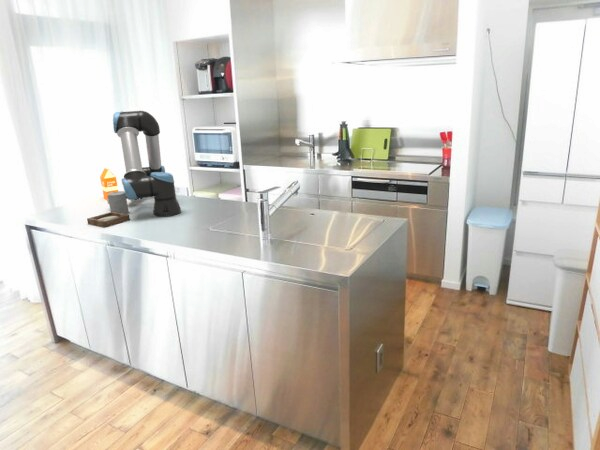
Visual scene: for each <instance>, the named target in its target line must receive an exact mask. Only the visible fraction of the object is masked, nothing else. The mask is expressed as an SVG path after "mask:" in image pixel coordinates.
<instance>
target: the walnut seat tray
mask: <svg viewBox="0 0 600 450" xmlns="http://www.w3.org/2000/svg"><path fill="white" fill-rule="evenodd" d="M86 219H87V225H91V226H96V227H100V228H103V229H106V228H109V227H111V226H114V225H115V226H116V225H119V224H122V223H125V222H128V221H130V220H131V217H130V214H122V213H117V212H111V211H110V212H106V213H103V214H99V215H95V216H92V217H89V218H86Z"/></svg>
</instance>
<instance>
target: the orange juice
mask: <svg viewBox="0 0 600 450" xmlns="http://www.w3.org/2000/svg"><path fill="white" fill-rule="evenodd" d="M99 178H100V183H101V189H102V194H103V199H105V200H106V201H107V199H108V195H107V194H108V193H112V192H118V191H119V187H118V186H119V185H118V181H117V176H116V175H114V174H113V173H112V172H111V171H110V170H109V169H108V168H105V167H104V169H103V171H102V172H101V175H100V176H99Z"/></svg>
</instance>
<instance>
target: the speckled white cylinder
mask: <svg viewBox="0 0 600 450" xmlns="http://www.w3.org/2000/svg"><path fill="white" fill-rule="evenodd" d="M107 195H108V200H109V204H108V205H109V210H110V212H117V213H122V214H128V215H130V214H129V213H130V212H129V205H128V199H126V194H125V191H124V190H123V191H122V190H121V191H119V190H118V192H112V193H108V194H107Z"/></svg>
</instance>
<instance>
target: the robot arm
mask: <svg viewBox="0 0 600 450" xmlns="http://www.w3.org/2000/svg"><path fill="white" fill-rule="evenodd" d="M112 122H113V123H112V124H113V132H114V133H115V134H117V135H116V136H118V137H119V138H120V141H121V147H122V148H121V150H122V153H123V161H124V166H125V172H126V173H124V175H123V178H121V184H122V187H123V191H124V192H125V194H126V199H127V200H129V201H131V203H132V204H133V203H134V202H136V201H138V200H143V199H145V198H146V199H147V198H154V203H153V204H154V205H153V210H152V214H153V216H154V217H157V218H158V217H160V218H161V217H162V218H163V217H166V218H167V217H172V216H176V215H179V214H181V213H182V208H181V206H180V203H179V201H178V200H177V196H176V187H175V180H174V175H173V174H172V173H170V172H166V169H165V165H162V159H161V158H162V157H161V147H160V136H159V134H160V133H161V131H160V130H161V129H160V125H159V122H158V120H156V118H155V117H154V116H153V115H152V114H151V113H150V112H147V111H144V110H134V111H133V110H132V111H122V110H121V111H116V112H114V113H113V116H112ZM140 132H143V133H142V134H143V135H144V136H145V143H146V144H145V145H146V151H147V160H148V166H145V167H143V164H142V160H141V159H142V158H141V153H140V147H139V141H138V136H139V134H140ZM106 201H107V204H108V205H109V200H108V199H107V200H106Z"/></svg>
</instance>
